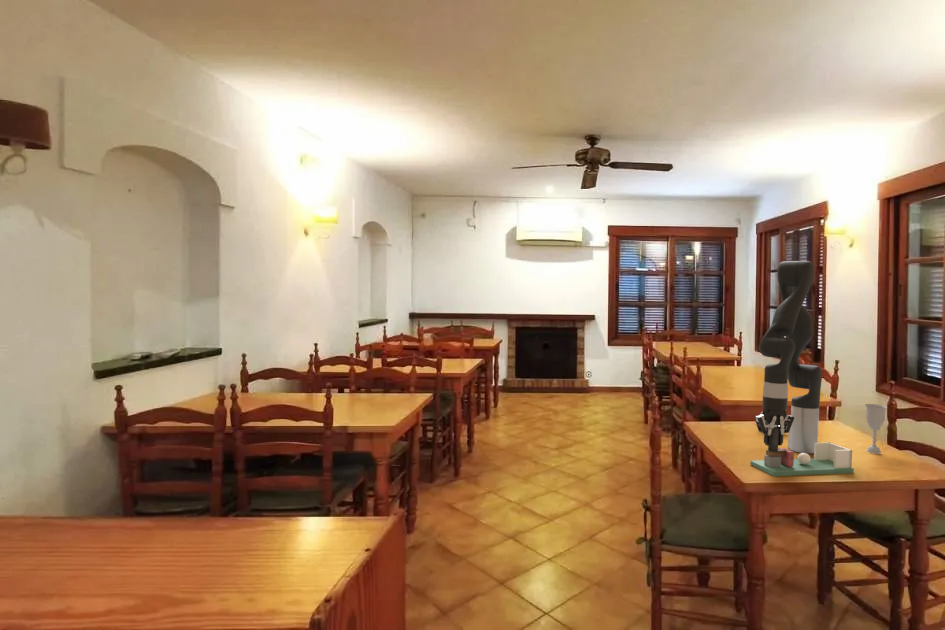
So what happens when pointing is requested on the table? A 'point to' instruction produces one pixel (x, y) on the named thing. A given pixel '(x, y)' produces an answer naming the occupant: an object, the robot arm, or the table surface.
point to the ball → (804, 458)
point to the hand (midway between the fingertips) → (773, 444)
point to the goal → (833, 454)
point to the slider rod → (780, 449)
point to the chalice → (875, 423)
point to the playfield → (797, 467)
